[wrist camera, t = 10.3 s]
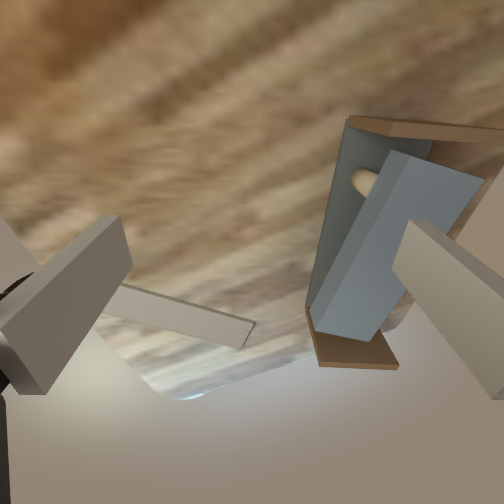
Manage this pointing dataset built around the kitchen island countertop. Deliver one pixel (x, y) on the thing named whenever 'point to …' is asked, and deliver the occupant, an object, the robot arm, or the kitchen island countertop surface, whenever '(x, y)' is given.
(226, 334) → the baseboard
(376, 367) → the peg shelf
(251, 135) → the kitchen island countertop surface
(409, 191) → the shelf board
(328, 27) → the kitchen island countertop surface
